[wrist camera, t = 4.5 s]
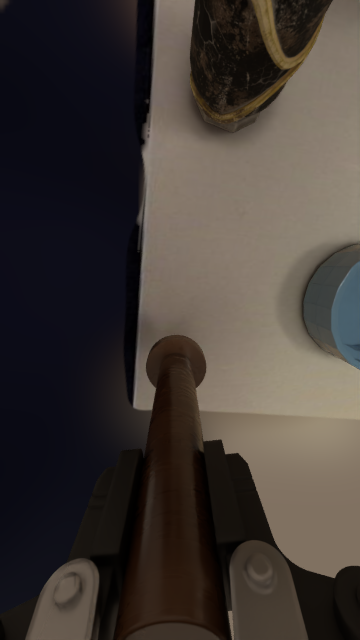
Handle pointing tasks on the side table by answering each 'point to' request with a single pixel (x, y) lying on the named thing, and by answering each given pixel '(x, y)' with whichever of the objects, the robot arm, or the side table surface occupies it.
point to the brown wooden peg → (173, 514)
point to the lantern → (248, 54)
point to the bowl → (336, 305)
